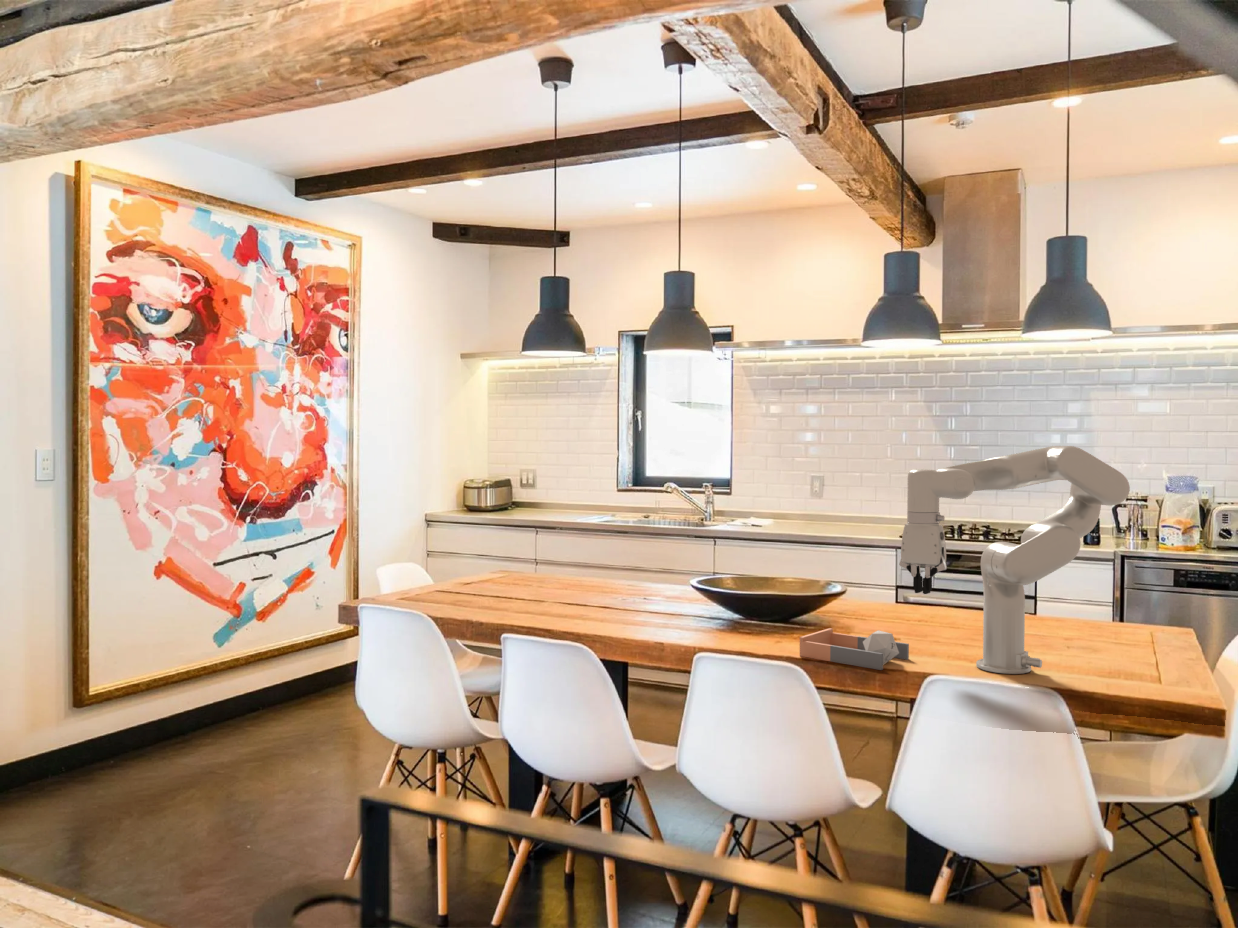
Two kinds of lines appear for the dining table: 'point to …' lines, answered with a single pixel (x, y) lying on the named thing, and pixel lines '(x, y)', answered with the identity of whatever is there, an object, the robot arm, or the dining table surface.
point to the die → (882, 645)
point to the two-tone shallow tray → (845, 649)
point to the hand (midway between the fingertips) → (922, 592)
